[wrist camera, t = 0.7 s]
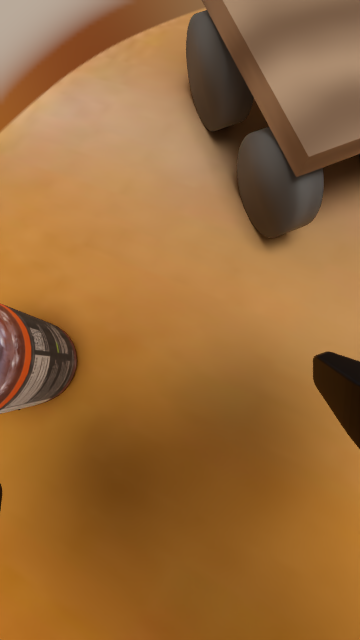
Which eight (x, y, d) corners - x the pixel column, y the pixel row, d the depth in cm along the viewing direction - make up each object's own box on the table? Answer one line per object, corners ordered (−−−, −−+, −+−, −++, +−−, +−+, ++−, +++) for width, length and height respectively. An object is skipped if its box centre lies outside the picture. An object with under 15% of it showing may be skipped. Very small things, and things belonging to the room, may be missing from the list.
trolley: (410, 196, 25) (882, -162, 8) (266, 252, 24) (477, -31, 7) (317, 43, 28) (531, -456, 11) (184, 86, 26) (200, -395, 10)
